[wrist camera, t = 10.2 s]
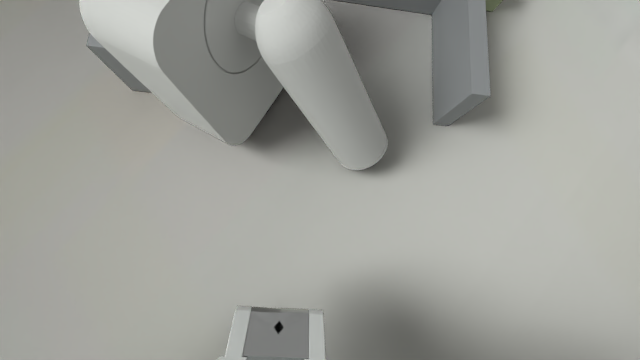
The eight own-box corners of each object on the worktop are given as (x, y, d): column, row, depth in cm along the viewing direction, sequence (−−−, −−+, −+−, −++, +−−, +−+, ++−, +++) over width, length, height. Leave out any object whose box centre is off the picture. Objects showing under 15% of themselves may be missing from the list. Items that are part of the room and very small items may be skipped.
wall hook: (348, 222, 16) (348, 142, 7) (204, 142, 19) (56, 3, 9) (412, 107, 18) (480, -80, 9) (273, 48, 21) (208, -148, 11)
